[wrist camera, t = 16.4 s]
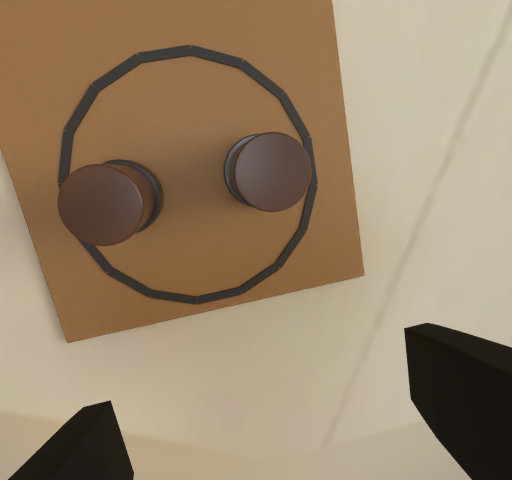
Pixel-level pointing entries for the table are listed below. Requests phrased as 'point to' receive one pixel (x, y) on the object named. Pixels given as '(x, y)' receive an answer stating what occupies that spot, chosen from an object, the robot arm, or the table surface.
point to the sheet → (176, 149)
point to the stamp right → (267, 171)
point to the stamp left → (109, 201)
